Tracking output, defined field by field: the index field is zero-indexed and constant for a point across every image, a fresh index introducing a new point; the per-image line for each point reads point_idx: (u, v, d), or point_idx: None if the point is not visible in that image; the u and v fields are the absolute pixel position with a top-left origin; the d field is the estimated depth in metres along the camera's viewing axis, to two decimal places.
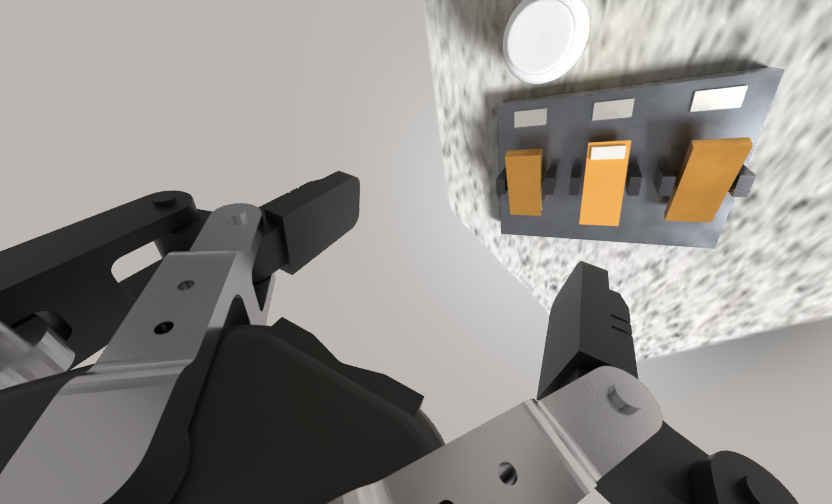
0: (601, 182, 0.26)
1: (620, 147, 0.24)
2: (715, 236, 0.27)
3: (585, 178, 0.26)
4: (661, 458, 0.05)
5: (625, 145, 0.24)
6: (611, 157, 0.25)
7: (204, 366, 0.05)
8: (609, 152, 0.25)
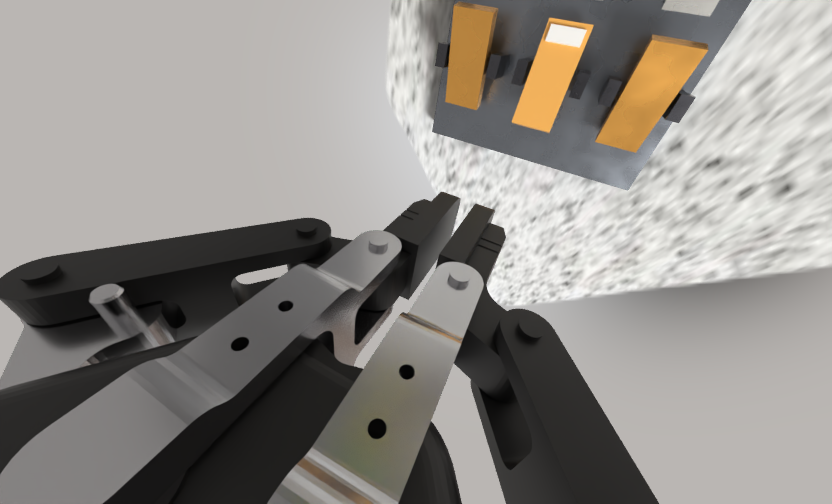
0: (548, 73, 0.22)
1: (580, 32, 0.21)
2: (632, 176, 0.26)
3: (533, 64, 0.22)
4: (479, 319, 0.07)
5: (585, 30, 0.21)
6: (567, 42, 0.21)
7: (243, 404, 0.04)
8: (567, 34, 0.21)
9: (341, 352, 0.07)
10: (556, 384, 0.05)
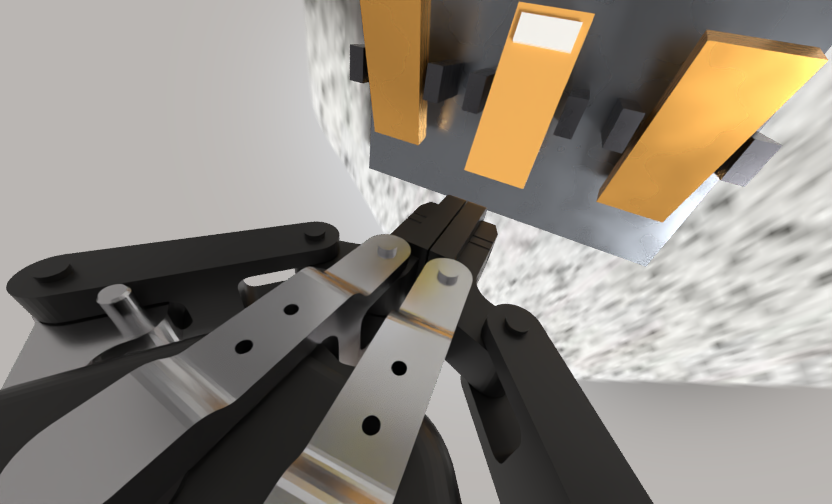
0: (519, 95, 0.13)
1: (571, 27, 0.12)
2: (654, 248, 0.17)
3: (495, 81, 0.13)
4: (468, 314, 0.07)
5: (580, 24, 0.12)
6: (549, 43, 0.12)
7: (244, 408, 0.04)
8: (548, 31, 0.12)
9: (346, 357, 0.07)
10: (543, 377, 0.05)
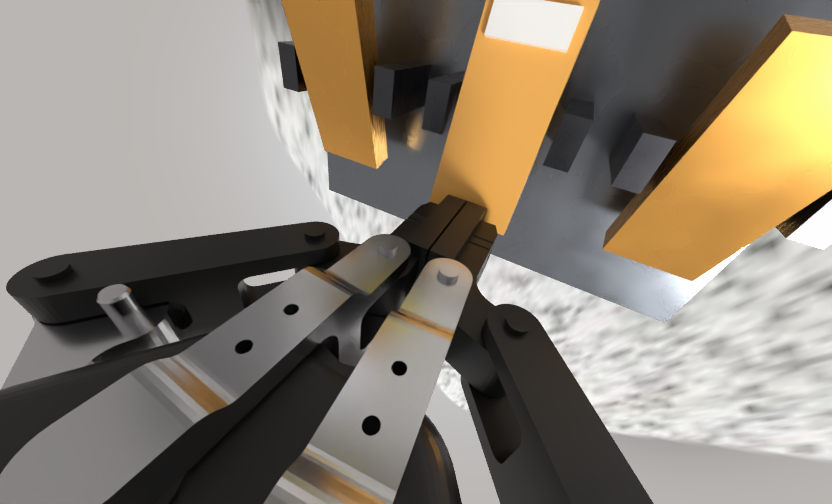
0: (496, 111, 0.10)
1: (568, 14, 0.08)
2: (676, 302, 0.13)
3: (463, 91, 0.10)
4: (468, 314, 0.07)
5: (581, 9, 0.08)
6: (535, 39, 0.08)
7: (244, 408, 0.04)
8: (535, 21, 0.08)
9: (346, 357, 0.07)
10: (543, 377, 0.05)
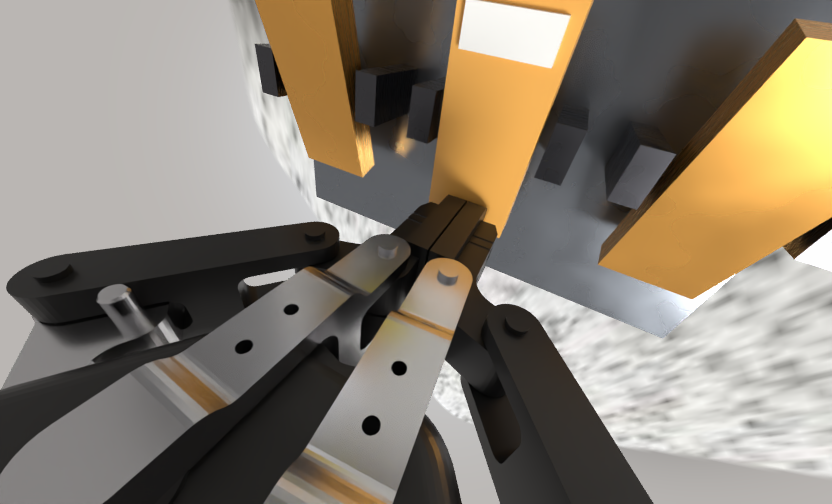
0: (481, 127, 0.09)
1: (553, 20, 0.07)
2: (675, 317, 0.12)
3: (445, 105, 0.09)
4: (468, 314, 0.07)
5: (568, 14, 0.07)
6: (515, 54, 0.07)
7: (244, 408, 0.04)
8: (513, 33, 0.07)
9: (346, 357, 0.07)
10: (543, 377, 0.05)
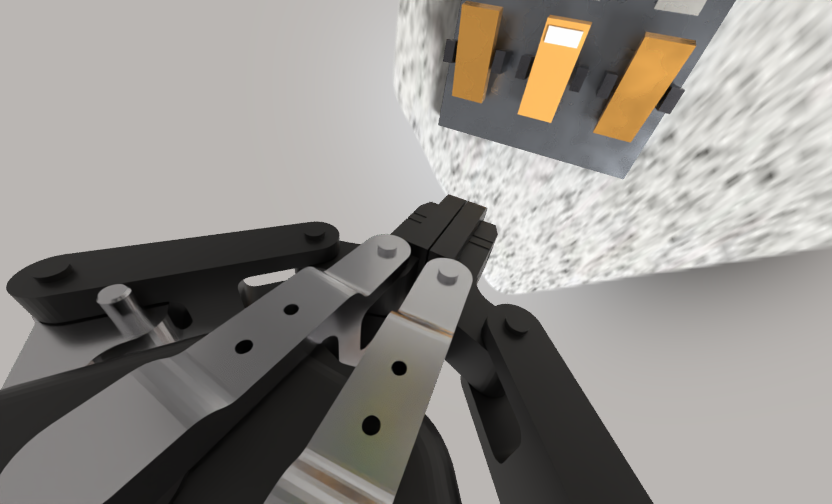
0: (548, 71, 0.24)
1: (578, 33, 0.21)
2: (628, 165, 0.27)
3: (534, 63, 0.24)
4: (468, 314, 0.07)
5: (582, 31, 0.21)
6: (564, 44, 0.22)
7: (244, 409, 0.04)
8: (564, 37, 0.22)
9: (346, 357, 0.07)
10: (543, 377, 0.05)
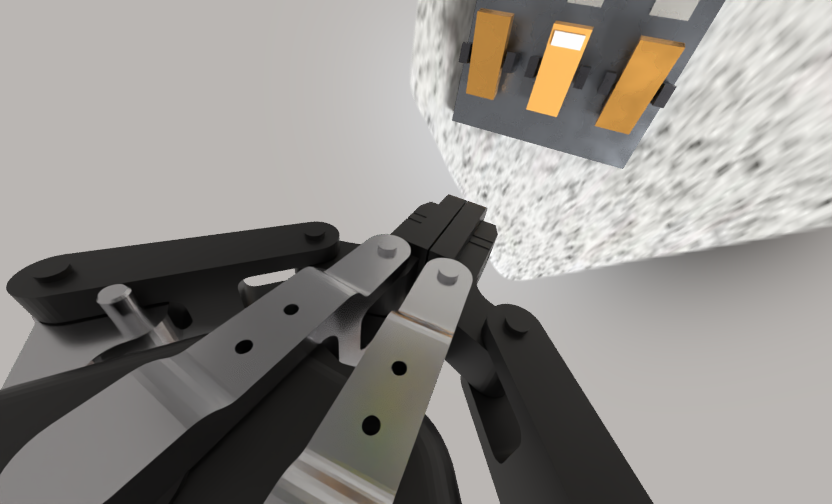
0: (554, 71, 0.27)
1: (580, 36, 0.24)
2: (626, 156, 0.30)
3: (541, 64, 0.27)
4: (468, 314, 0.07)
5: (585, 35, 0.24)
6: (569, 46, 0.25)
7: (244, 409, 0.04)
8: (569, 40, 0.24)
9: (346, 357, 0.07)
10: (543, 377, 0.05)
